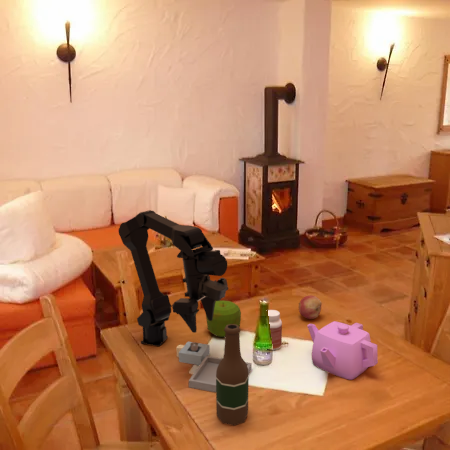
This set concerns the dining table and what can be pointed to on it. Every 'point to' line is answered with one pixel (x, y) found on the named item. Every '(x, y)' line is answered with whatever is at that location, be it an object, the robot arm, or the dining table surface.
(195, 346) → the brown rounded cylinder
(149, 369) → the dining table surface
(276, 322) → the pill bottle
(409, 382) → the dining table surface
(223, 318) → the apple
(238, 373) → the beer bottle
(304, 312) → the fruit
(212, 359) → the tray
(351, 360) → the teakettle
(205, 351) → the ring
